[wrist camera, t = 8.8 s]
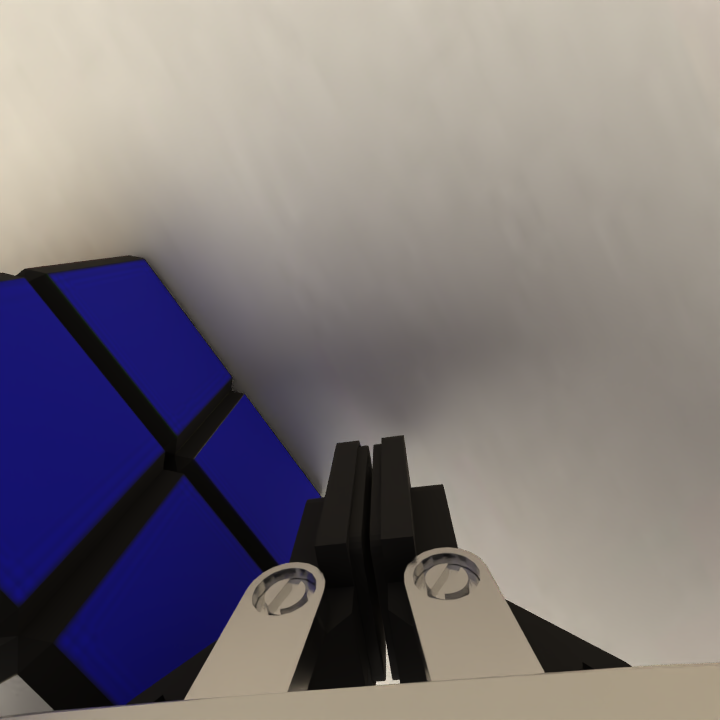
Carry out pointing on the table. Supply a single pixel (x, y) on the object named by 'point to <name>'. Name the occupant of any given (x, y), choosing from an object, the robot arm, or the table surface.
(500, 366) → the table surface
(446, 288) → the table surface
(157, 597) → the puzzle cube
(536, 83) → the table surface
